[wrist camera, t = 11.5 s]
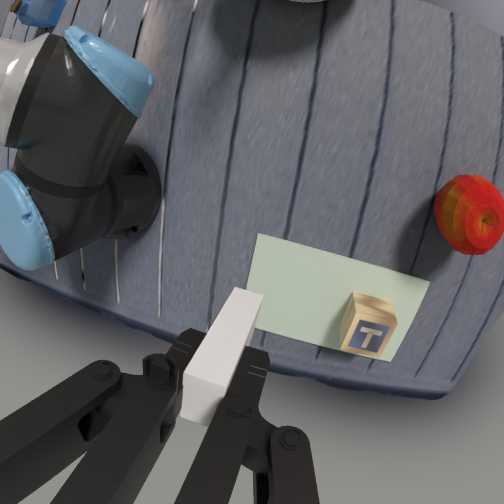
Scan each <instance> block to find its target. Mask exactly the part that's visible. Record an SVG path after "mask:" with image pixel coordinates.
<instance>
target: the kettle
mask: <svg viewBox="0 0 504 504" xmlns="http://www.w3.org/2000/svg"><path fill="white" fill-rule="evenodd" d="M290 1H295V2H320V1H325V0H290Z"/></svg>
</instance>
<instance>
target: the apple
mask: <svg viewBox="0 0 504 504" xmlns="http://www.w3.org/2000/svg"><path fill="white" fill-rule="evenodd" d="M434 213H435V219H436V222H437V225H438V228H439V231H440V232H441V234H442V235H443V236H444V237H445V239H446V240H447V241H448V243H449V244H450V245H451V247H452V248H453V249H454V250H456V251H458V252H460V253H463V254H467V255H483V254H485V253H486V252H488V251H489V250H491V249H492V248H493V247H494V246H495V245H496V244H497V242H498V241H499V240H500V239H501V236H502V234H503V232H504V200H503V198H502V196H501V195H500V193H499V191H498V190H497V189H496V187H495V186H494V185H493V184H492V183H490V182H489V181H488V180H486V179H485V178H483V177H482V176H476V175H458V176H457V177H455V178H454V179H452V180H450V181H449V182H448V183H447V184H446V185H445V186H444V187H443V188H442V189H441V190H440V191H439V192H438V195H437V197H436V200H435V206H434Z"/></svg>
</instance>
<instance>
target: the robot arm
mask: <svg viewBox="0 0 504 504" xmlns="http://www.w3.org/2000/svg"><path fill="white" fill-rule="evenodd" d="M63 36H64V37H61V36H58V35H54V34H51V33H45V34H43V35H41V36H39V37H37V38H35V39H33V40H32V41H29V42H26V43H24V42H20V41H16V40H11V39H7V38H2V37H0V142H1V144H2V146H6V147H11V148H16V149H18V150H17V153H16V157H15V161H14V165H13V168H12V169H11V170H8V169H7V170H3V171H2V172H1V173H0V245H1V247H2V249H3V250H4V252H5V253H6V255H7V256H8V258H9V259H10V260H11V261H12V262H13V263H14V264H15V265H16V266H18V267H19V268H21V269H23V270H30V271H33V270H36V269H39V268H41V267H44V266H47V265H51V264H53V263H54V261H56V260H58V259H60V258H62V257H64V256H66V255H67V254H69V253H71V252H73V251H75V250H77V249H79V248H82V247H84V246H86V245H88V244H90V243H92V242H94V241H96V240H98V239H100V238H127V237H131V236H133V235H135V234H138V233H140V232H141V231H143V230H145V229H146V228H147V227H148V226H149V225H150V224H151V223H152V222H153V220H154V219H155V217H156V215H157V213H158V210H159V207H160V202H161V181H160V176H159V173H158V170H157V168H156V166H155V164H154V162H153V160H152V159H151V158H150V156H149V155H148V154H147V153H146V152H145V151H144V150H142V149H141V148H139V147H137V146H135V145H132V144H128V143H125V141H126V139H127V137H128V135H129V134H130V132H131V130H132V128H133V126H134V125H135V123H136V121H137V119H138V118H140V117H141V115H142V113H141V111H142V109H143V107H144V105H145V103H146V101H147V99H148V97H149V96H150V94H151V92H152V90H153V88H154V83H155V80H154V76H153V74H152V72H151V71H150V70H149V69H148V68H147V67H146V66H144V65H143V64H141V63H140V62H138V61H137V60H135V59H134V58H132V57H131V56H129V55H128V54H126V53H124V52H123V51H121V50H120V49H118V48H116V47H115V46H113V45H111V44H110V43H108V42H106V41H104V40H103V39H101V38H99V37H97V36H95V35H93V34H91V33H89V32H87V31H85V30H84V29H82V28H80V27H78V26H74V25H73V26H71V27H69V28H68V29H67V30H65V31H64V33H63ZM263 296H264V295H260V294H257V293H253V292H250V291H247V290H243V289H240V288H237V287H235V288H234V290H233V291H232V293H231V295H230V296H229V298H228V300H227V301H226V303H225V305H224V306H223V308H222V310H221V311H220V313H219V315H218V316H217V318H216V320H215V321H214V323H213V325H212V326H211V328H210V330H209V331H208V333H207V334H206V333H203V332H200V331H197V330H194V329H192V328H190V329H188V330H186V331H184V332H182V333H181V334H180V336H179V337H178V338H177V340H176V342H174V344H173V345H172V348H170V349H169V351H168V352H167V353H166V355H165V354H151V355H148V356H146V357H145V358H144V359H143V375H133V374H127V373H121V372H120V369H119V367H118V366H117V365H116V364H114V363H113V362H111V361H107V360H98V361H95V362H93V363H91V364H89V365H88V366H86V367H85V368H83V369H81V370H80V371H78V372H77V373H75V374H73V375H72V376H70V377H69V378H67V379H66V380H64V381H62V382H61V383H59V384H58V385H56V386H55V387H53V388H52V389H50V390H48V391H47V392H45V393H43V394H42V395H40V396H39V397H37V398H36V399H34V400H32V401H31V402H29V403H28V404H26V405H25V406H23V407H21V408H20V409H18V410H16V411H15V412H13V413H12V414H10V415H9V416H7V417H5V418H4V419H2V420H1V421H0V504H17V503H19V502H20V501H21V500H23V499H24V498H26V497H27V496H28V495H30V494H31V493H33V492H34V491H35V490H37V489H38V488H40V487H41V486H42V485H43V484H45V483H46V482H48V481H49V480H50V479H52V478H53V477H54V476H55V475H57V474H58V473H60V472H61V471H62V470H63V469H65V468H66V467H67V466H68V465H70V464H71V463H72V462H74V461H75V460H76V459H77V458H79V457H80V456H81V455H83V454H84V453H85V452H86V451H87V453H86V454H85V455H84V457H83V458H82V460H81V461H80V462H79V464H78V465H77V466H76V468H75V469H74V471H73V472H72V474H71V475H70V476H69V478H68V479H67V480H66V482H65V483H64V485H63V486H62V487H61V489H60V490H59V492H58V493H57V495H56V496H55V497H54V499H53V500H52V502H51V503H50V504H133V503H134V501H135V499H136V497H137V495H138V494H139V492H140V490H141V488H142V486H143V484H144V483H145V481H146V479H147V477H148V475H149V473H150V472H151V470H152V468H153V466H154V464H155V462H156V461H157V459H158V457H159V455H160V453H161V451H162V450H163V448H164V446H165V444H166V442H167V440H168V438H169V436H170V435H171V433H172V431H173V429H174V427H175V423H176V417H177V415H178V414H179V412H180V417H183V418H186V419H188V420H191V421H193V422H196V423H199V424H202V425H204V426H207V427H208V430H207V432H206V434H205V436H204V439H203V441H202V443H201V446H200V448H199V450H198V452H197V455H196V457H195V459H194V461H193V464H192V466H191V468H190V470H189V472H188V474H187V477H186V479H185V481H184V483H183V485H182V487H181V490H180V492H179V494H178V496H177V498H176V501H175V503H174V504H228V502H229V500H230V497H231V494H232V490H233V488H234V485H235V482H236V479H237V476H238V472H239V469H240V466H241V464H242V465H243V466H245V467H246V468H248V469H250V470H252V471H253V493H254V504H320V503H319V497H318V490H317V484H316V478H315V472H314V466H313V460H312V454H311V448H310V442H309V439H308V437H307V435H306V434H305V433H304V432H303V431H302V430H300V429H298V428H296V427H293V426H281V427H279V428H278V427H276V426H274V425H272V424H271V423H269V422H268V421H266V420H265V419H264V418H263V417H262V416H261V414H260V412H259V408H258V404H259V400H260V396H261V393H262V389H263V385H264V382H265V378H266V375H267V371H268V367H269V363H270V359H269V356H268V352H265V351H262V350H258V349H255V348H252V347H249V344H250V341H251V339H252V336H253V332H254V329H255V325H256V321H257V318H258V314H259V310H260V307H261V303H262V299H263Z"/></svg>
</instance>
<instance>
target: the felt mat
mask: <svg viewBox="0 0 504 504" xmlns="http://www.w3.org/2000/svg"><path fill="white" fill-rule="evenodd" d="M429 284H430V281H427V280H424V279H421V278H417V277H414V276H411V275H407V274H404V273H400V272H397V271H394V270H390V269H387V268H383V267H380V266H376V265H373V264H369V263H366V262H362V261H359V260H355V259H352V258H348V257H345V256H341V255H338V254H334V253H330V252H327V251H323V250H320V249H316V248H312V247H309V246H305V245H301V244H298V243H294V242H290V241H287V240H283V239H279V238H276V237H272V236H268V235H264V234H261V233H258V236H257V241H256V245H255V250H254V254H253V259H252V264H251V268H250V273H249V277H248V282H247V287H246V290H247V291H250V292H253V293H257V294H260V295H264V296H263V299H262V303H261V307H260V310H259V314H258V318H257V321H256V325H255V328H258V329H261V330H265V331H268V332H272V333H275V334H279V335H282V336H286V337H289V338H293V339H297V340H300V341H304V342H308V343H312V344H316V345H320V346H323V347H327V348H331V349H336V350H340V351H344V352H348V353H352V354H357V355H361V356H366V357H370V358H375V359H379V360H384V361H389V362H391V360H392V358H393V357H394V355H395V353H396V351H397V349H398V348H399V346H400V344H401V342H402V340H403V338H404V336H405V334H406V333H407V331H408V329H409V327H410V325H411V323H412V321H413V319H414V317H415V315H416V312H417V310H418V308H419V306H420V304H421V302H422V300H423V297H424V295H425V293H426V291H427V288H428V286H429ZM353 291H354V292H357V293H361V294H365V295H369V296H372V297H376V298H380V299H383V300H387V301H390V302H391V305H392V308H393V311H394V313H395V316H396V319H397V322H398V324H397V326H396V328H395V330H394V332H393V334H392V336H391V338H390V340H389V342H388V344H387V346H386V347H385V349H384V351H383V353H382V355H381V357H380V358H376V357H371V356H367V355H362V354H358V353H354V352H349V351H345V350H341V349H340V331H339V325H340V323H341V320H342V318H343V315H344V313H345V310H346V308H347V305H348V303H349V300H350V297H351V295H352V292H353Z"/></svg>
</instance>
